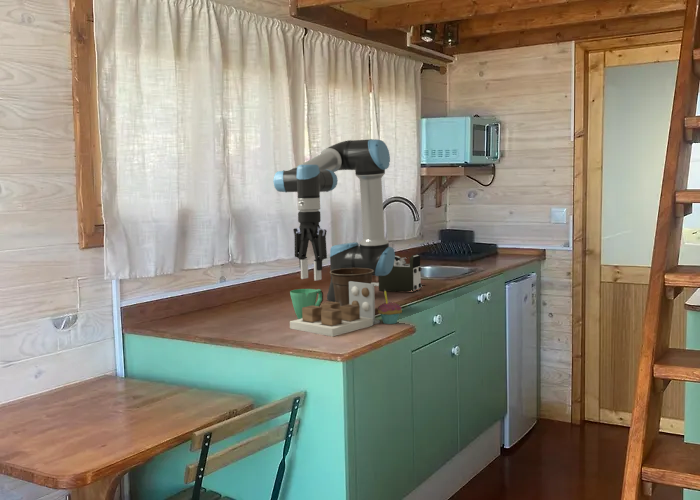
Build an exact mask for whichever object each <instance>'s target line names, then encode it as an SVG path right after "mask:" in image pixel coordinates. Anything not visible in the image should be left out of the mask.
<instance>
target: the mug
mask: <svg viewBox="0 0 700 500" xmlns="http://www.w3.org/2000/svg"><path fill="white" fill-rule="evenodd" d="M289 294H290V298H291V303H292V306H293V310H294V312H295V315H296V317H297V320H298V319H302V308H303V307H307V306H312V305H313V306H319V307H321V303H323V301H324V292H323V290H322V289H320V288H318V289H317V288H316V289H315V288H299V289H293V290H290V291H289ZM317 295H318V296H317Z"/></svg>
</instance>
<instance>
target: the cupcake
mask: <svg viewBox="0 0 700 500" xmlns="http://www.w3.org/2000/svg"><path fill="white" fill-rule="evenodd" d="M384 290H385V289H384ZM383 293H384V299H385V302H383V303H381V304H380V305H379V306H378V307H377V313H378V314H379V315H380V318H381V319H382V323H383V324H386V325H393V324H397V323H398V319H399V316H400V314H402V313H403V309H402V306H401V304H398V303H397V302H391V301H388V295H387V291H383Z"/></svg>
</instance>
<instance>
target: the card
mask: <svg viewBox="0 0 700 500" xmlns="http://www.w3.org/2000/svg"><path fill="white" fill-rule="evenodd" d="M375 300H376V299H375V286H374V284H369V283H361V282H352V281H350V282H349V304H351V305H358V306H359V309H360V317H366V318H373V325H377V324H380V323H381V319H376V304H375V303H376V302H375Z"/></svg>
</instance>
